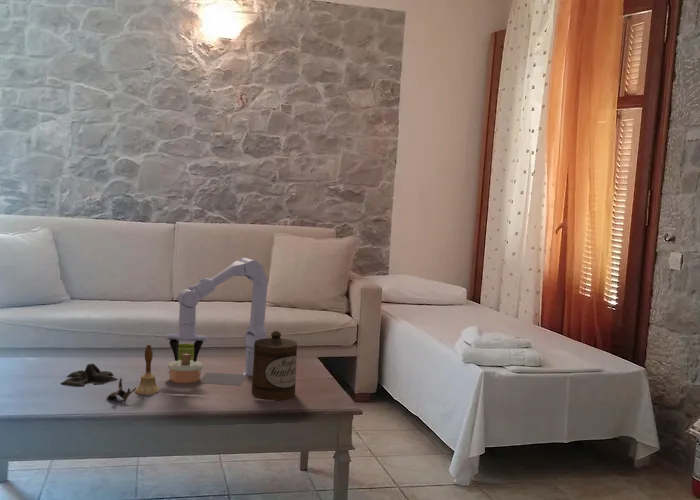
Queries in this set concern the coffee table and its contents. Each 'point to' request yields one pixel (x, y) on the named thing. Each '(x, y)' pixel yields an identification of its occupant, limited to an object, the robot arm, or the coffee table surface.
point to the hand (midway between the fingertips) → (185, 360)
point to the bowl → (185, 376)
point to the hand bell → (147, 376)
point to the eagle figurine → (121, 392)
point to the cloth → (89, 377)
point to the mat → (222, 379)
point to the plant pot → (186, 350)
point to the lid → (185, 364)
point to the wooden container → (274, 368)
